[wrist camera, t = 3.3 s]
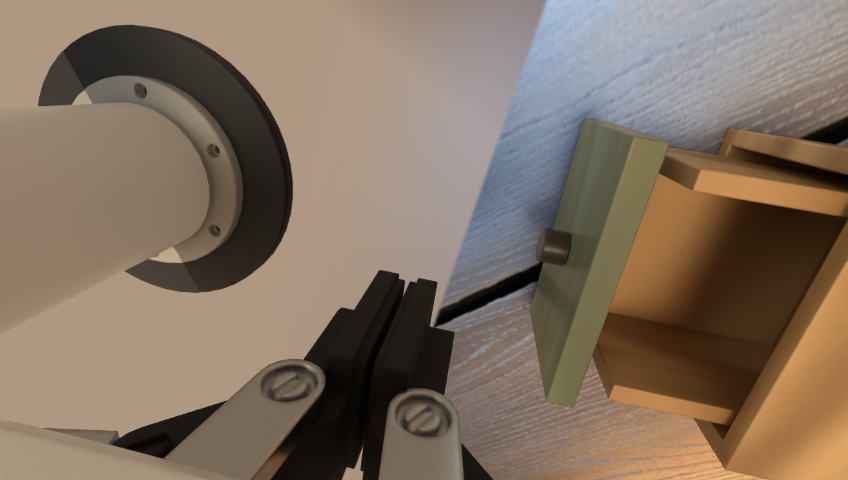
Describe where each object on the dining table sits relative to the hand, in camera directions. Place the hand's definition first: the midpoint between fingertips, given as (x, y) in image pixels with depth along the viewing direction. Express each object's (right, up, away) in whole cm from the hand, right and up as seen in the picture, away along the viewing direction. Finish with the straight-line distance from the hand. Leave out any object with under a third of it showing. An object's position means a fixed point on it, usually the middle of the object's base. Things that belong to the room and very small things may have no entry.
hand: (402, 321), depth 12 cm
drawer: (+14, +2, +11) cm, 18 cm away
